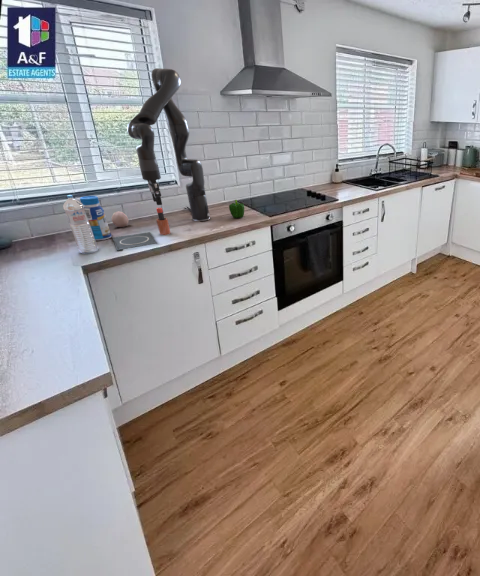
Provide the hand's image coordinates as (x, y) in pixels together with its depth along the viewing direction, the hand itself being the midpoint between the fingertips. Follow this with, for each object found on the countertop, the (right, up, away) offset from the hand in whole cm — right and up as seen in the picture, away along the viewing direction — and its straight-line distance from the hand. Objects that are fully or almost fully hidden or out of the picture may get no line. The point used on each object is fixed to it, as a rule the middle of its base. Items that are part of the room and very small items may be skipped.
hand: (157, 203), depth 181 cm
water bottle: (-21, -26, -16) cm, 37 cm away
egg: (-29, -9, +16) cm, 34 cm away
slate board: (-9, -19, -3) cm, 22 cm away
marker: (-1, -14, +7) cm, 16 cm away
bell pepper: (+25, +4, +36) cm, 44 cm away
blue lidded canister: (-27, -17, 0) cm, 32 cm away
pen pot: (-1, -14, +7) cm, 16 cm away
